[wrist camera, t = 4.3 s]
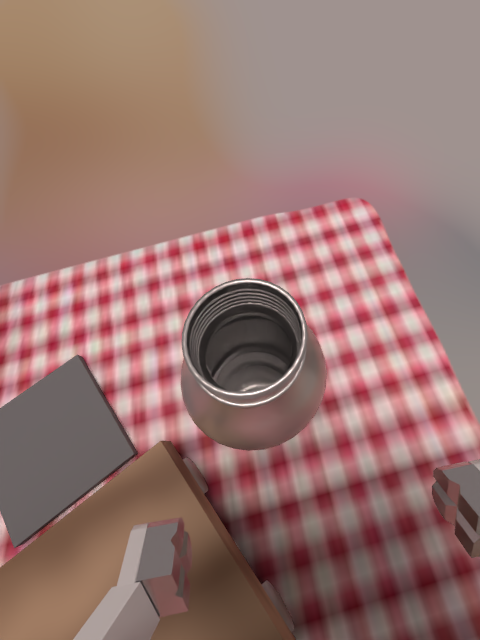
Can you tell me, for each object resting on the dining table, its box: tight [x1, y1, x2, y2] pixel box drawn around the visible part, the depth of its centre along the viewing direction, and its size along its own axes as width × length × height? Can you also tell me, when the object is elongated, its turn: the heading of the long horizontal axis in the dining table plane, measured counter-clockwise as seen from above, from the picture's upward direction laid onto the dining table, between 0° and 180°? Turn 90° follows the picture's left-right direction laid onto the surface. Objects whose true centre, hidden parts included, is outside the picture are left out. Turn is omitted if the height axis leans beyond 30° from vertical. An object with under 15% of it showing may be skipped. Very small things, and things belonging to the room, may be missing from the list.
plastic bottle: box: [181, 278, 327, 450], centre depth 18 cm, size 6×7×20 cm
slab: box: [0, 441, 296, 640], centre depth 20 cm, size 16×18×6 cm
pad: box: [0, 355, 138, 548], centre depth 27 cm, size 11×11×1 cm
